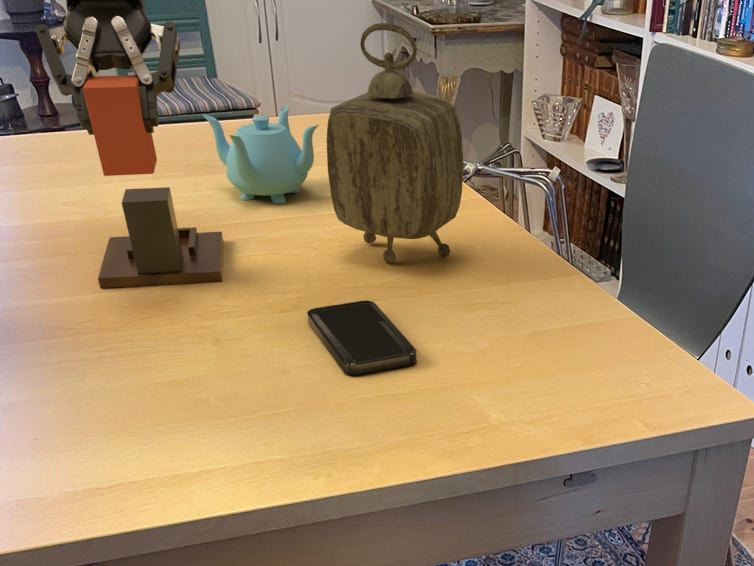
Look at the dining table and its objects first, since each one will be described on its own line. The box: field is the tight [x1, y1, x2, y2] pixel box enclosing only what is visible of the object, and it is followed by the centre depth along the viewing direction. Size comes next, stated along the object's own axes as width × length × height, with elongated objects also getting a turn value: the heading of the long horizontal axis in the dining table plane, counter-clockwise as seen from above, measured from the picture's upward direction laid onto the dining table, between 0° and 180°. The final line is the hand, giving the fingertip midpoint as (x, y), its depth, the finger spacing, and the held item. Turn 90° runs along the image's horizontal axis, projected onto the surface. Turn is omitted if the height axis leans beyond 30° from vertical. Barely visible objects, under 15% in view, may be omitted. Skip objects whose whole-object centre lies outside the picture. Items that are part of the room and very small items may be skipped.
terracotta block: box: [83, 74, 158, 177], centre depth 96 cm, size 5×5×8 cm
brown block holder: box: [97, 186, 224, 289], centre depth 113 cm, size 14×14×9 cm
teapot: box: [202, 105, 320, 204], centre depth 133 cm, size 13×13×10 cm
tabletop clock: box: [326, 22, 465, 265], centre depth 110 cm, size 14×9×25 cm, turn 66°
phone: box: [306, 299, 418, 376], centre depth 99 cm, size 8×1×15 cm
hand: (119, 128), depth 94 cm, fingers closed on terracotta block, 5 cm apart
